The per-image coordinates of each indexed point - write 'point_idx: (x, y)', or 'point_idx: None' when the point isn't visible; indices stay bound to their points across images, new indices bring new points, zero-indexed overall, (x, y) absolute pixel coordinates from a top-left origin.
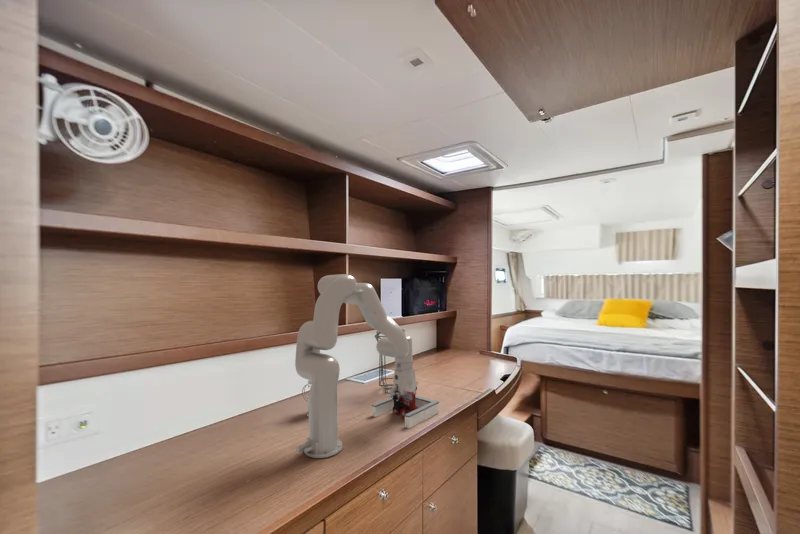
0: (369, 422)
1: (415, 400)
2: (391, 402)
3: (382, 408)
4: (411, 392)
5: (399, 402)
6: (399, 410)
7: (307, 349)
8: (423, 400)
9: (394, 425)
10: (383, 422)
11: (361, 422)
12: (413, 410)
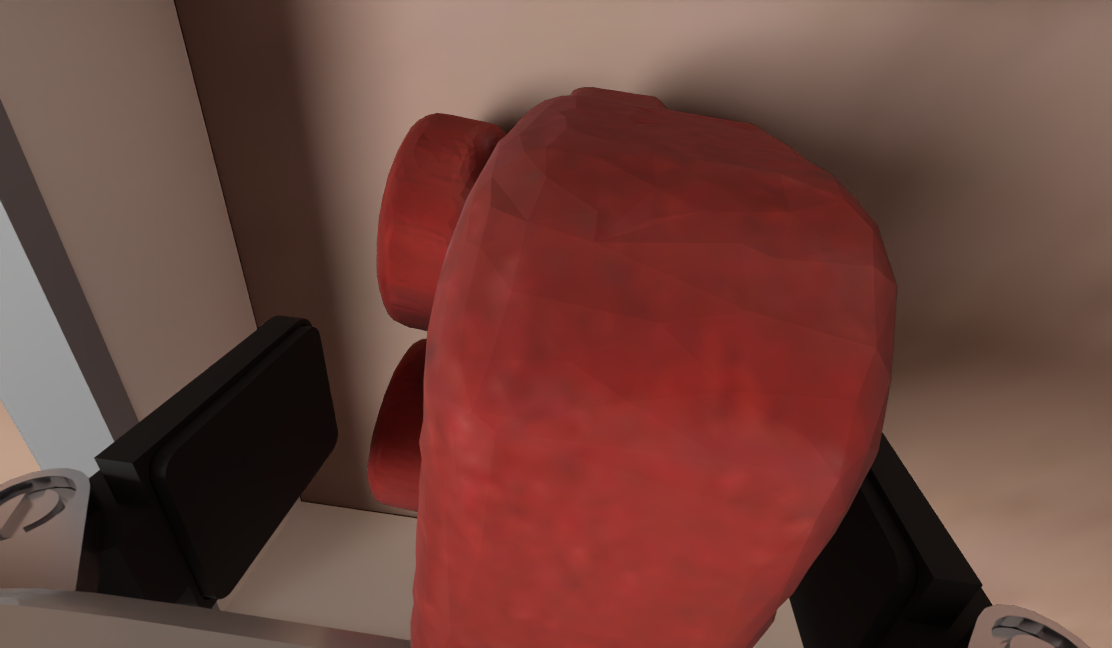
0: (1052, 564)
1: (161, 398)
2: None
3: None
4: (491, 641)
5: (947, 541)
6: None
7: None
8: (30, 211)
9: (1106, 226)
10: (1003, 433)
11: (1074, 625)
12: (656, 106)
